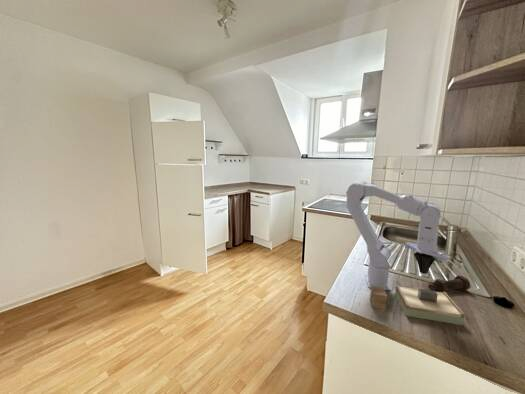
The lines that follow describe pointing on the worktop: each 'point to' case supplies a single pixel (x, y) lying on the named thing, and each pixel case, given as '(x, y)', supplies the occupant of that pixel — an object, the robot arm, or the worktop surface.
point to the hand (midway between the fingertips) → (423, 272)
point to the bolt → (450, 284)
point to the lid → (429, 302)
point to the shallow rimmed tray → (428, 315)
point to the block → (378, 298)
